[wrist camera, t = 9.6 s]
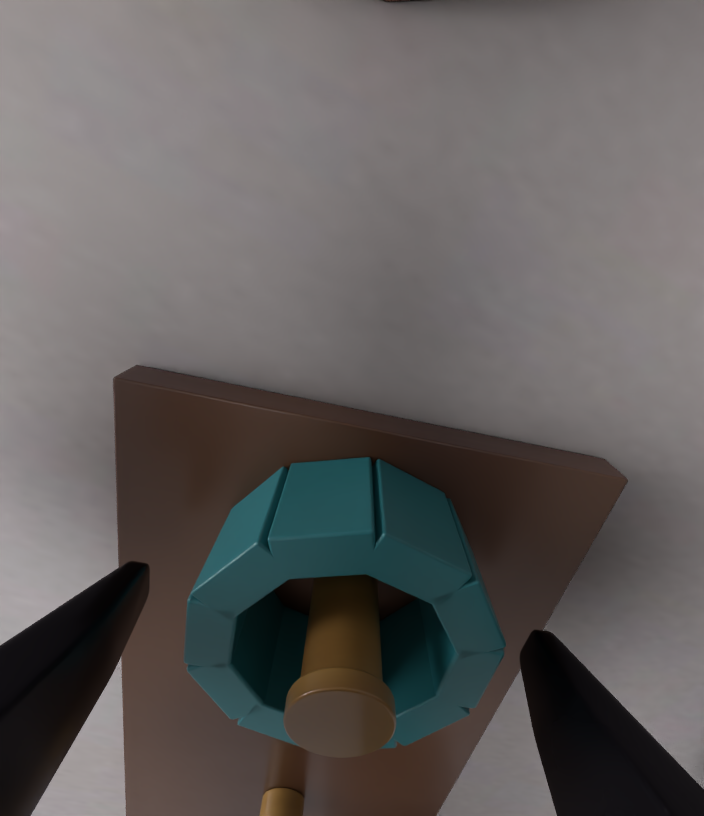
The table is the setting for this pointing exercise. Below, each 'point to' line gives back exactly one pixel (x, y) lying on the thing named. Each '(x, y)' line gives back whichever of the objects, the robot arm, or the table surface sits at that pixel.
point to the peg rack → (319, 595)
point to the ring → (342, 556)
